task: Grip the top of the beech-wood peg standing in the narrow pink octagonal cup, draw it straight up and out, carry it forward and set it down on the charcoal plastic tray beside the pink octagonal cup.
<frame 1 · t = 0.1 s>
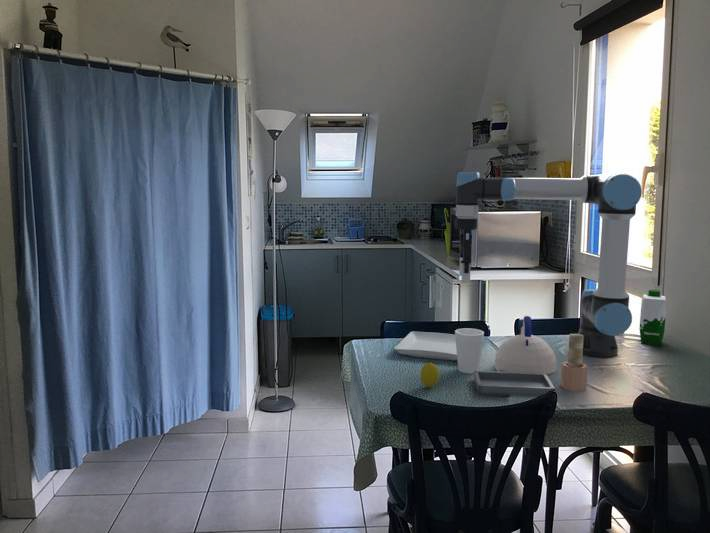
hand: (464, 279, 221), 28 cm above the table, tool pointing down, fingers open, 13 cm apart
pink octagonal cup: (573, 390, 192), on the table
lemon: (429, 388, 194), on the table
peg: (573, 387, 192), point 1 cm above the table, touching pink octagonal cup
square plate: (438, 352, 234), on the table
tray: (512, 388, 193), on the table
kettle: (524, 369, 213), on the table
milk carton: (650, 343, 247), on the table
foam cup: (468, 370, 211), on the table
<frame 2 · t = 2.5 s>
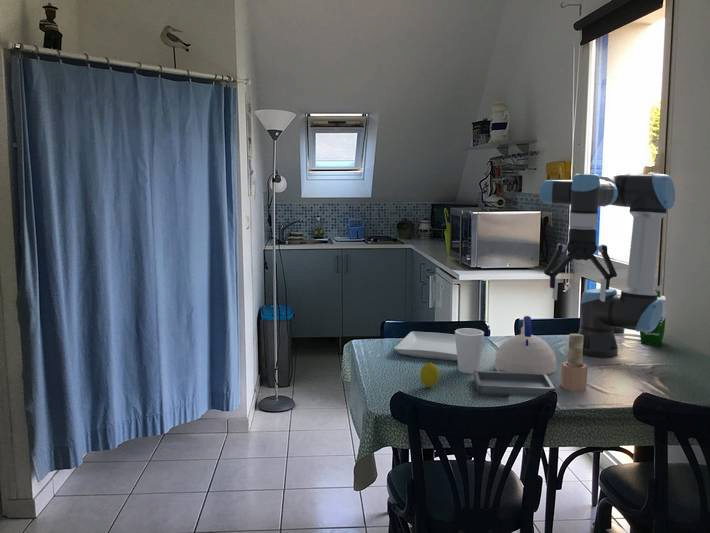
hand: (578, 300, 188), 28 cm above the table, tool pointing down, fingers open, 13 cm apart
nothing on the table moved.
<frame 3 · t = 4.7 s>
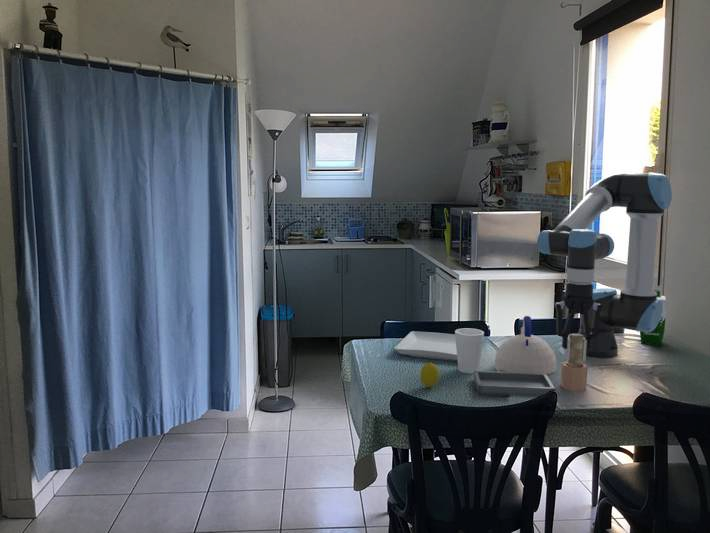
hand: (575, 359, 191), 10 cm above the table, tool pointing down, fingers closed on peg, 4 cm apart
peg: (573, 387, 192), point 1 cm above the table, touching pink octagonal cup, gripper
everything else where it was.
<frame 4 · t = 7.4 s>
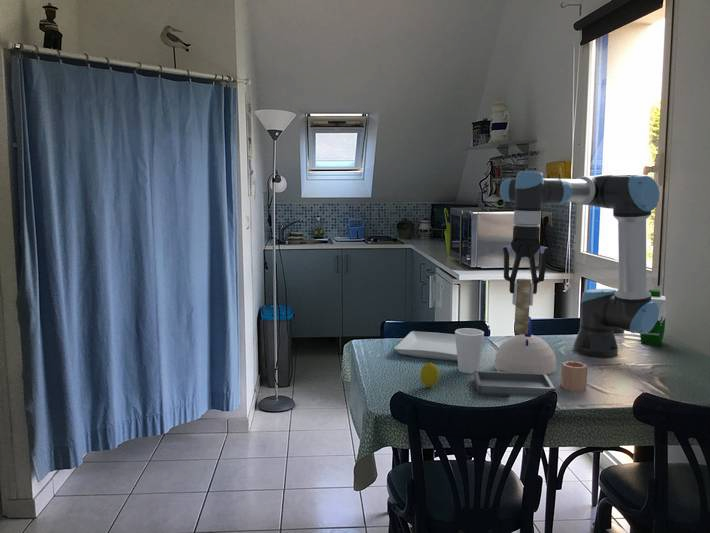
hand: (522, 304, 189), 26 cm above the table, tool pointing down, fingers closed on peg, 4 cm apart
peg: (520, 332, 190), point 18 cm above the table, touching gripper
everything else where it was.
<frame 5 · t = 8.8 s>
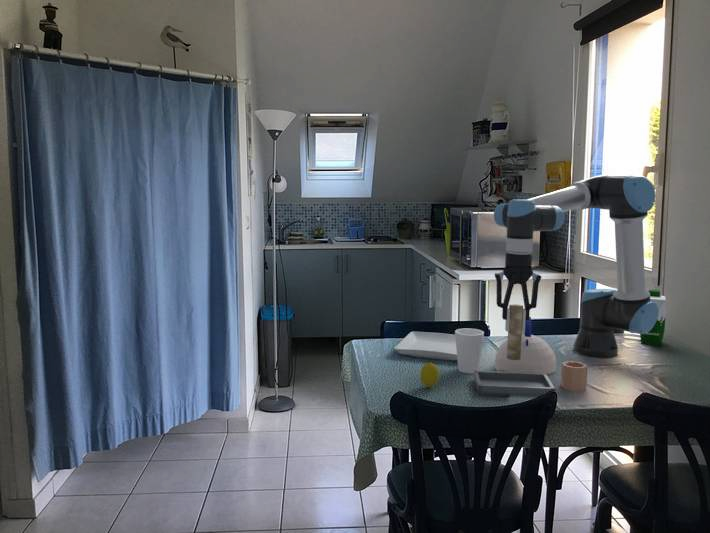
hand: (514, 330, 190), 18 cm above the table, tool pointing down, fingers closed on peg, 4 cm apart
peg: (513, 358, 191), point 10 cm above the table, touching gripper
everything else where it was.
when the fingers open (11 cm above the table, at t = 10.1 s): peg drops 2 cm, resting on tray.
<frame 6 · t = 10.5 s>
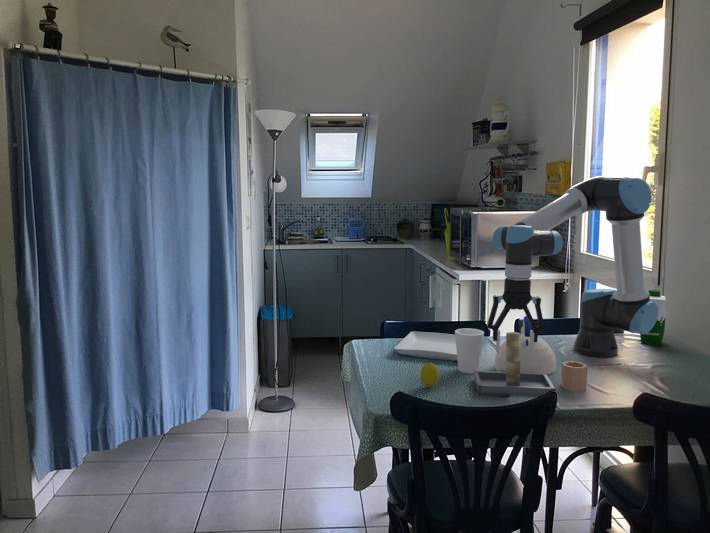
hand: (514, 352, 191), 12 cm above the table, tool pointing down, fingers open, 9 cm apart
peg: (513, 385, 193), point 1 cm above the table, touching tray
everything else where it was.
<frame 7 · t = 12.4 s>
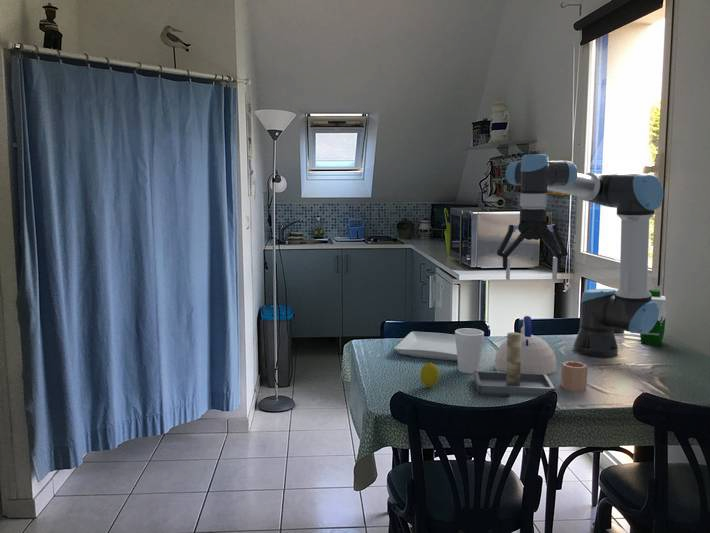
hand: (531, 279, 190), 33 cm above the table, tool pointing down, fingers open, 13 cm apart
nothing on the table moved.
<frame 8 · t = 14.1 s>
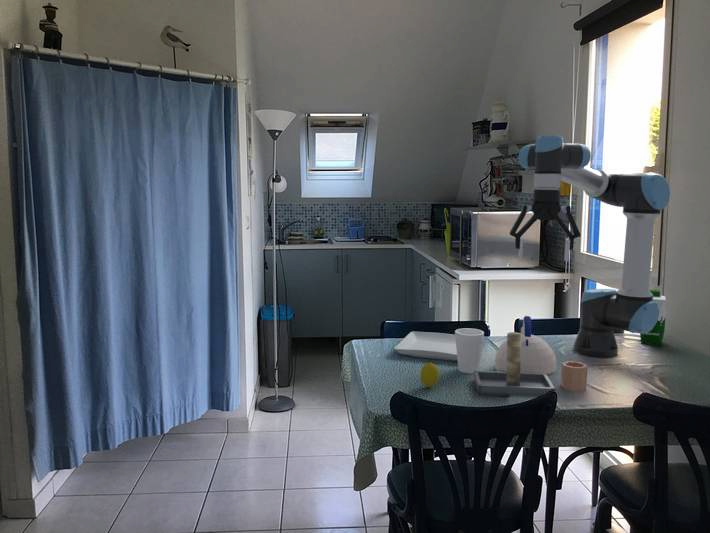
hand: (543, 260, 191), 39 cm above the table, tool pointing down, fingers open, 13 cm apart
nothing on the table moved.
at the end: peg inside the target area on the tray (0.1 cm from its centre), point 1.1 cm above the tray's base; peg touching tray; the gripper is holding nothing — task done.
